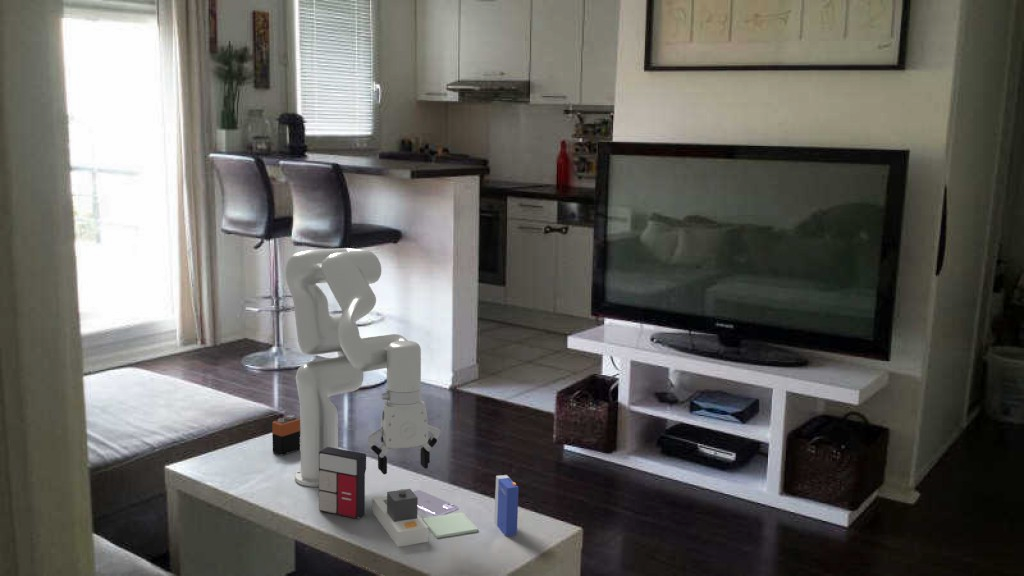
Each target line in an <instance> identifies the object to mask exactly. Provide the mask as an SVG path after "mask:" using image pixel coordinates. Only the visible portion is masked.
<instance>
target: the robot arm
mask: <svg viewBox="0 0 1024 576" xmlns="http://www.w3.org/2000/svg"><path fill="white" fill-rule="evenodd" d="M381 275H382V265H381V262H380V259H379V258H378V256H377V255H376V254H375V253H374V252H372V251H370V250H367V249H359V248H349V247H343V248H338V247H337V248H326V249H325V248H323V249H321V248H320V249H309V250H303V251H302V250H301V251H298V252H296V253H294V254H292V255H291V256H289V258H288V260H287V261H286V265H285V279H286V285H287V287H288V289H289V292H290V296H291V299H292V302H293V306H294V317H295V324H296V325H295V326H296V336H297V337H296V338H297V342H298V347H299V349H300V351H301V352H302V353H303V354H304V355H308V356H315V355H316V356H318V355H324V354H332V353H337V356H335V357H329V358H328V357H327V358H322V359H315V360H310V361H307V362H304V363H303V364H302V365H300V366H299V367H298V369H297V371H296V374H295V382H296V389H297V394H298V398H299V399H298V401H299V415H300V416H299V417H300V418H299V419H300V469H299V470H297V471H296V472H295V473H294V481H295V482H296V483H298V484H299V485H301V486H305V487H314V488H319V451H321V450H323V449H325V448H327V447H331V448H337V449H339V416H338V415H339V414H338V411H337V407H336V406H335V405H334V404H333V403H332V401H331V400H330V397H331V396H332V397H333V396H336V395H341V394H346V393H351V392H354V391H357V390H359V389H360V388H361V387H362V385H363V382H364V373H365V372H371V371H377V370H378V371H379V370H383V369H386V389H385V392H383V393H381V394H380V399H381V400H386V401H385V402H384V403H383V407H382V408H383V409H382V412H381V422H380V428H379V429H378V430H376V431H374V432H373V433H371V434H370V435H368V436H366V437H365V441H366V443H367V445H368V446H369V448H370V449H371V450H372V451H373V453H374V454H376V455H377V468H378V471H380V472H381V473H382V474H383V475H387V473H388V457H387V456H386V454H387V453H388V452H389V451H390V450H400V449H401V450H402V449H408V448H416V447H417V448H418V447H421V448H420V465H421V467H422V468H424V469H428V468H429V464H430V461H431V460H430V454H431V453H430V452H431V451H432V449H433V447H434V446H435V445H436V444H437V442H438V439H439V437H440V435H441V433H442V431H441V429H439V428H438V427H435V426H432V425H430V424H428V416H427V415H428V414H427V409H426V408H427V407H426V404H425V401H424V400H423V399H421V398H422V393H421V392H422V391H421V390H422V388H421V386H422V379H421V377H422V374H421V373H422V361H421V360H422V350H421V349H422V348H421V345H420V344H419V343H418V342H416V341H412V340H408V339H407V338H405V337H404V336H402V335H400V334H398V333H397V334H396V333H395V334H394V333H393V334H386V335H378V336H369V337H362V336H360V332H359V327H358V324H357V323H356V322H357V321H359V320H361V319H362V318H365V316H367V315H368V314H369V313H371V311H372V310H374V308H375V306H376V303H377V297H376V294H375V293H374V291H373V289H372V288H371V286H370V284H371V285H372V284H375V283H376V282H378V281H379V280H380V278H381ZM326 283H327V285H328V286H329V289H330V291H331V292H332V295H333V297H334V298H335V300H336V302H337V304H338V305H339V307H340V309H341V311H342V313H341V314H337V315H335V314H334V315H330V311H329V310H330V309H329V302H328V298H327V296H326V294H325V292H323V290H322V288H320V286H318V285H317V284H326ZM429 433H432V434H431V436H430V438H429ZM378 439H380V442H381V443H380V444H379V446H377V444H376V443H375V442H376V441H377V440H378Z"/></svg>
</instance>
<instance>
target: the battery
mask: <svg viewBox="0 0 1024 576" xmlns="http://www.w3.org/2000/svg"><path fill="white" fill-rule="evenodd" d="M271 426H272V428H271V429H272V431H271V432H272V435H271V436H272V453H274V454H277V455H280V456H285V454H286V455H288V454H291V453H293V452H294V453H295V452H296V451H299V450H301V446H300V418H296V417H295V415H294V414H288V415H286V417H281V418H278V419H277V420H274V421H272V425H271Z"/></svg>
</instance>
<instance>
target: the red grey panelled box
mask: <svg viewBox="0 0 1024 576" xmlns="http://www.w3.org/2000/svg"><path fill="white" fill-rule="evenodd" d="M366 470H367V454H366V453H363V452H359V451H351V450H347V449H342V448H338V449H337V448H331V447H327V448H325V449H323V450H321V451H319V487H318V510H319V511H320V512H324V513H330V514H334V515H339V516H344V517H349V518H353V519H359V518H361V517H362V516H363V515H364V514H365V512H366V511H365V509H366V507H365V506H366V504H365V503H366V500H365V498H366V483H365V482H366Z"/></svg>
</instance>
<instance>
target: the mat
mask: <svg viewBox="0 0 1024 576" xmlns="http://www.w3.org/2000/svg"><path fill="white" fill-rule="evenodd" d="M421 519H422V520H423V521H424V523H425V524H426V525H427V526H428V530H429V531H430V532H431V533H432V534H433V535H434V537H435V538H436V539H440V538H446V537H452V536H458V535H459V536H460V535H464V534H470V533H476V532H477V533H478V532H479V531H478V530H479V529H478V527H477V526H476V525H475V524H474V523H473V522H472V521H471V520H470V519H469V518H468V517H467V516H466V514H464V512H462V511H460V512H453V513H452V512H451V513H447V514H444V515H440V516H434V515H432V516H428V517H422V518H421Z"/></svg>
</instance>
